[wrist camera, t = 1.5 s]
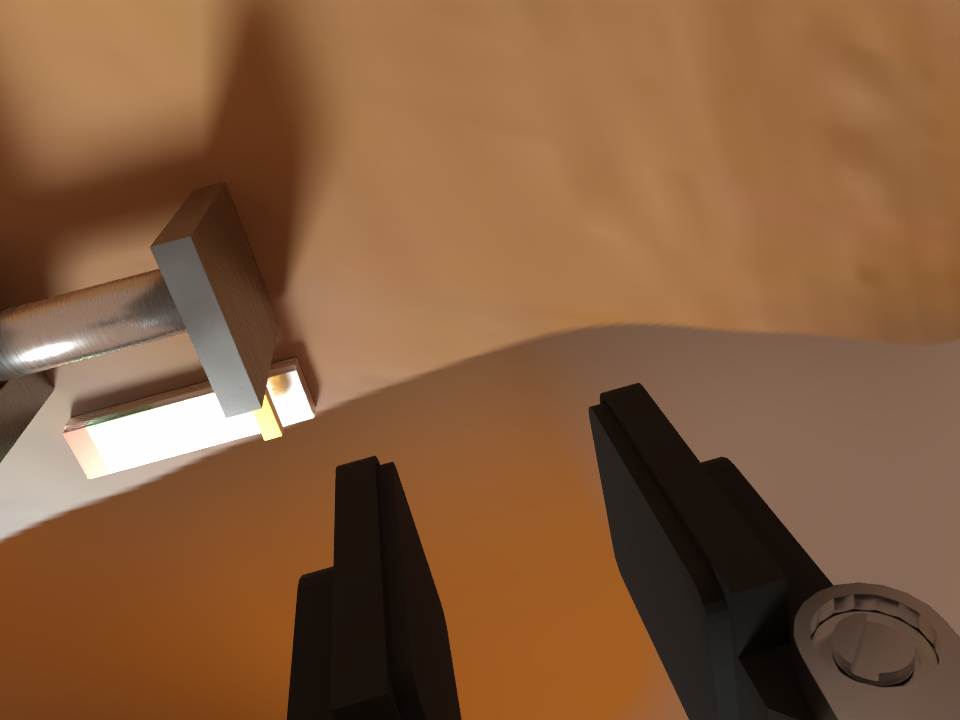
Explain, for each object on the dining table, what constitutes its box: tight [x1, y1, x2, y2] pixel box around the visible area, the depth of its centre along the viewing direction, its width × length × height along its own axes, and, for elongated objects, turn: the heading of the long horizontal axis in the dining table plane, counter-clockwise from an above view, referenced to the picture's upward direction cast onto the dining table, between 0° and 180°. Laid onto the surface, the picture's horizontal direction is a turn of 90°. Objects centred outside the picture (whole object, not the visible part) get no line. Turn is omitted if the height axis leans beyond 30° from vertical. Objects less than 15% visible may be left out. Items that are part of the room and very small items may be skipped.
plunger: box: [0, 182, 283, 440], centre depth 23 cm, size 11×8×6 cm
